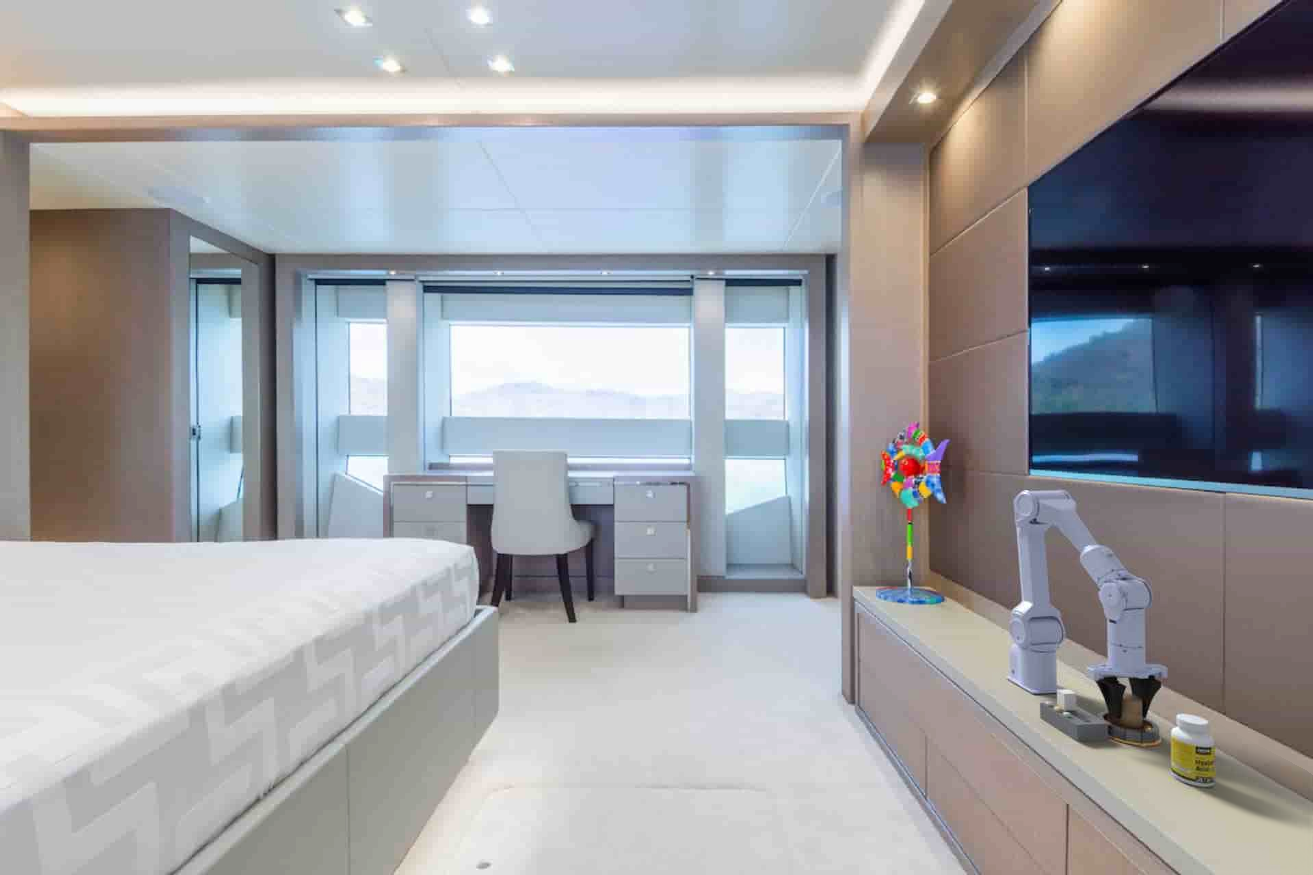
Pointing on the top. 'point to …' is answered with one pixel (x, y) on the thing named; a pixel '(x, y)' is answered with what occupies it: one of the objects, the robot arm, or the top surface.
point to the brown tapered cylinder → (1130, 712)
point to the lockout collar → (1132, 732)
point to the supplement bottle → (1192, 751)
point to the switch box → (1074, 722)
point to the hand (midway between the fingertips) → (1127, 716)
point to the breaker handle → (1066, 699)
